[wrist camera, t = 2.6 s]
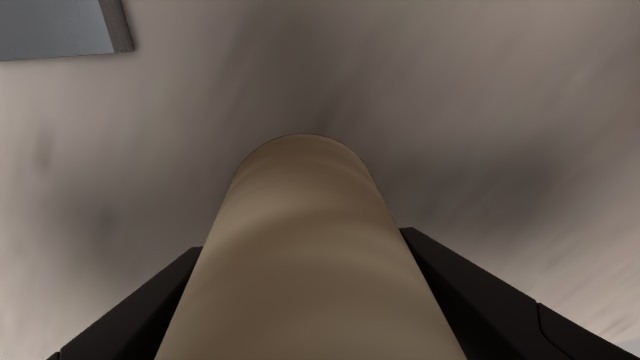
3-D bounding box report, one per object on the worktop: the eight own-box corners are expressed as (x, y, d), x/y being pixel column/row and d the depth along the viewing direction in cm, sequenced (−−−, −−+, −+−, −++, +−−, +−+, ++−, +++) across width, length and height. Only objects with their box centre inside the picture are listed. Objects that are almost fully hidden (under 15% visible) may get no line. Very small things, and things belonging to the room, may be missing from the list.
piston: (375, 128, 10) (802, 635, 2) (373, 255, 12) (551, 764, 4) (216, 140, 9) (-270, 791, 1) (242, 266, 12) (110, 835, 3)
